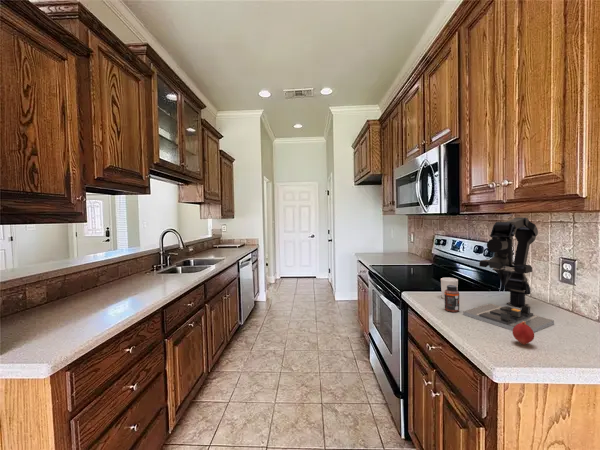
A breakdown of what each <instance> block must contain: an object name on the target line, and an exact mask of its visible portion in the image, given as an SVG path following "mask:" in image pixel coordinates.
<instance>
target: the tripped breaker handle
mask: <svg viewBox="0 0 600 450" xmlns="http://www.w3.org/2000/svg"><path fill="white" fill-rule="evenodd" d="M512 308H513V309H511V315H512V316H515V317H520V316H521V309H519V310H518V309H517V308H515V309H514V307H512Z"/></svg>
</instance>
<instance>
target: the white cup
mask: <svg viewBox="0 0 600 450" xmlns="http://www.w3.org/2000/svg"><path fill="white" fill-rule="evenodd" d="M447 285H455V286H457V291H459V290H458V285H459V279H457V278H454V277H442V278H440V288H441V289H440V290H441V298H442V299H443V300H445V290H447Z"/></svg>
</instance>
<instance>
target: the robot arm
mask: <svg viewBox="0 0 600 450" xmlns="http://www.w3.org/2000/svg"><path fill="white" fill-rule="evenodd" d="M538 233H539V231H538V228H537V225H536V224H534V223H533V222H532V221H530V220H529V219H528V217H513V219H512V218H511V219H510V220H507V221H495V222H494V224H493V226H492V230H491V232H490V236H489V237H490V238H491V239H489V240H488V241H487V243H486V247H487V250H488V251H489V252H492V253H494V254H493V255H494V256H493V257H491V258H489V259H482V260H480V261H479V263H478V264H479V267H481V268H487V267H489V268H490V269H491V270H492V271H493V272H495V273H497V275H498V278H499V279H500V282H501V285H502V286H503V287H504V291H505V292H509V301H508V302H506V305H509V306H512V307H513V306H514V307H516V308H520V309H521V306H523V305H524V306H528V307H530V304H528V303H526V296H527V295H531V289H532V288H531V287H530V286H531V285H530V284H529V279H528V278H527V276H526V274H528V273H529V274H530V273H532V272H533V267H532V266H531V265H530V264H527V260H528V255H529V250H530V245H531V244H533V242H535V240H536V238H537V236H538ZM514 237H515V240H516V241H517V244H516V249H515V252H513V246H514V245H513V240H514ZM513 256H514V260H513Z"/></svg>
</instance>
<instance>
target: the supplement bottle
mask: <svg viewBox="0 0 600 450" xmlns="http://www.w3.org/2000/svg"><path fill="white" fill-rule="evenodd" d="M444 310H445V311H447V312H451V313H457V312H459V311H460V292H459V290H457V286H455V285H447V290H445V299H444Z"/></svg>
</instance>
